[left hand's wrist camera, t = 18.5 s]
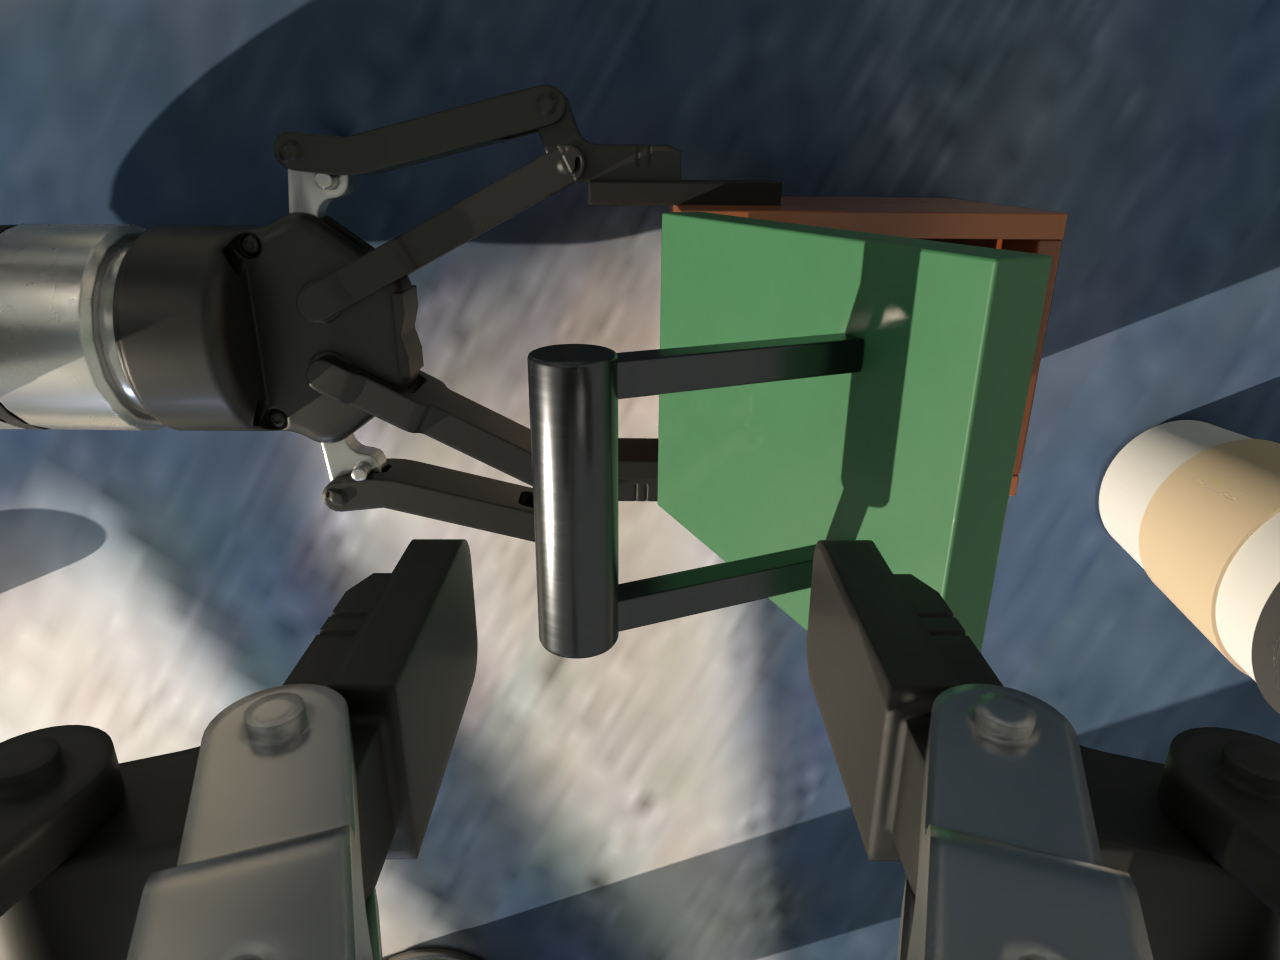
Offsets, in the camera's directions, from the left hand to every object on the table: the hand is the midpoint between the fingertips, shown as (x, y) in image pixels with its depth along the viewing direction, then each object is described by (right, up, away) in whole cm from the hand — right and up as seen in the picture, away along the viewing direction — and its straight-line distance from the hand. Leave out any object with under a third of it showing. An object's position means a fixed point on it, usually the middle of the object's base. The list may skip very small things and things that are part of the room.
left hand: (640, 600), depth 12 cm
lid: (+4, +3, +9) cm, 11 cm away
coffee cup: (+25, +1, +28) cm, 38 cm away
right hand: (+5, +7, +19) cm, 21 cm away
